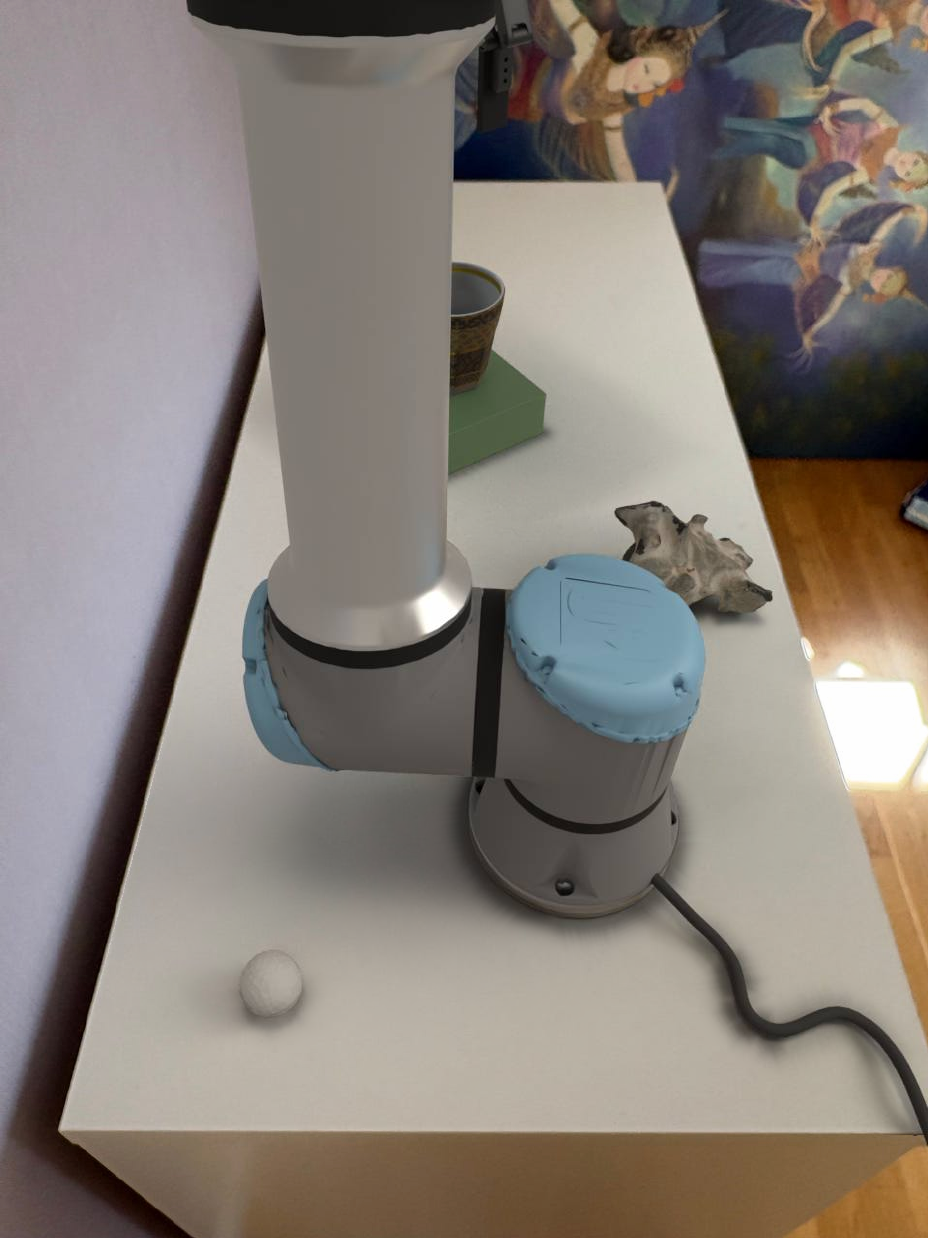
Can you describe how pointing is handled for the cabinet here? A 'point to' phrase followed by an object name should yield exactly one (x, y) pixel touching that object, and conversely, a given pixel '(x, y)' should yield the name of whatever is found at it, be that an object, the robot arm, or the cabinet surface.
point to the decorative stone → (690, 558)
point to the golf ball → (270, 983)
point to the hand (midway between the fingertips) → (447, 101)
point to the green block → (493, 414)
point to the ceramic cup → (472, 323)
